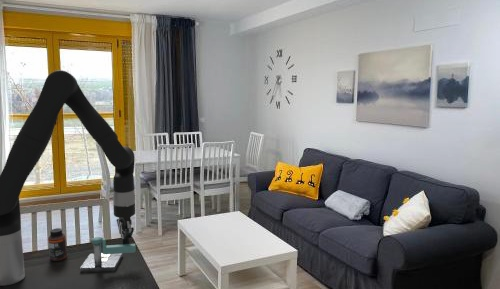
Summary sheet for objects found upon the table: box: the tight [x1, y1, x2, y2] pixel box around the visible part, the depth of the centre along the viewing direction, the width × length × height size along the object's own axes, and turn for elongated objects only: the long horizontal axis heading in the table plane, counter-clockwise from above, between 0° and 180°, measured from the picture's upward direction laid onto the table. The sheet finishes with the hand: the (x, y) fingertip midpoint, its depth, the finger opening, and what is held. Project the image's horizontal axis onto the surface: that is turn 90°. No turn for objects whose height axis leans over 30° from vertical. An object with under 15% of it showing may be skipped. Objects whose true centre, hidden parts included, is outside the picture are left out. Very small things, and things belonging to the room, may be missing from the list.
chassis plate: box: [79, 243, 123, 273], centre depth 147 cm, size 12×12×10 cm
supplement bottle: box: [47, 227, 68, 262], centre depth 151 cm, size 6×6×11 cm
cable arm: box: [90, 236, 137, 255], centre depth 143 cm, size 4×15×6 cm, turn 101°
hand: (125, 247), depth 147 cm, fingers closed
